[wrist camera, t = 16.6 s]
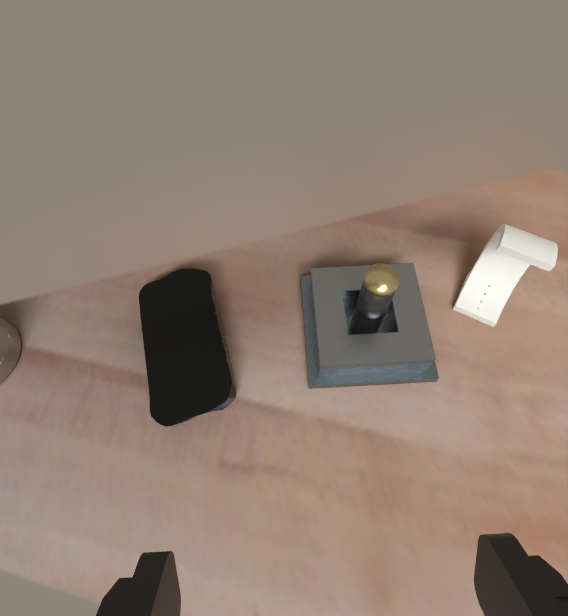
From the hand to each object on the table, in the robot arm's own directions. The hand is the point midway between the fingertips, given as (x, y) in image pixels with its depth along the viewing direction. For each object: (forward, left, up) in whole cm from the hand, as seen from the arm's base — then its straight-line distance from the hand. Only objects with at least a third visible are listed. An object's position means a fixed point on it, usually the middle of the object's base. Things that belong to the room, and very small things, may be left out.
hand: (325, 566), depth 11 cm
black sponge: (-11, +18, -29) cm, 36 cm away
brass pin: (+8, +20, -28) cm, 35 cm away
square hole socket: (+8, +20, -29) cm, 36 cm away
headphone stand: (+22, +23, -29) cm, 43 cm away
